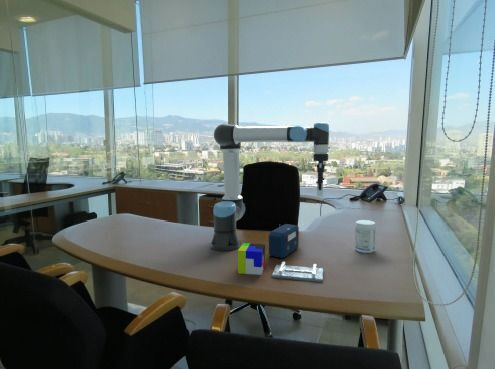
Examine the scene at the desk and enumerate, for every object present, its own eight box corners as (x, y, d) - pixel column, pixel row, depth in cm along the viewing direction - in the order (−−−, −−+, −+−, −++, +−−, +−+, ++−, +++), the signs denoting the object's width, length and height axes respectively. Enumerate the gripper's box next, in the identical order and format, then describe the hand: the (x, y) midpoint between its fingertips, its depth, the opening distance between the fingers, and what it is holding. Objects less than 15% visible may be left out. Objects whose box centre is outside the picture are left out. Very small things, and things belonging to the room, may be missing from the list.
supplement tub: (364, 246, 167) (365, 218, 165) (379, 251, 158) (380, 222, 156) (350, 249, 162) (351, 221, 160) (364, 254, 154) (365, 225, 152)
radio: (283, 260, 148) (283, 218, 146) (267, 257, 153) (267, 216, 150) (301, 247, 166) (301, 210, 163) (285, 245, 170) (285, 208, 168)
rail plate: (272, 277, 129) (272, 270, 129) (276, 267, 140) (276, 260, 139) (322, 282, 124) (322, 274, 124) (322, 271, 135) (323, 264, 134)
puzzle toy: (261, 274, 132) (261, 251, 131) (238, 273, 134) (237, 250, 133) (265, 265, 142) (264, 244, 140) (243, 264, 144) (242, 243, 142)
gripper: (328, 154, 150) (327, 198, 153) (328, 152, 174) (327, 190, 177) (312, 154, 152) (311, 197, 154) (314, 152, 176) (313, 190, 178)
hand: (320, 194), depth 166 cm, fingers open, 13 cm apart
